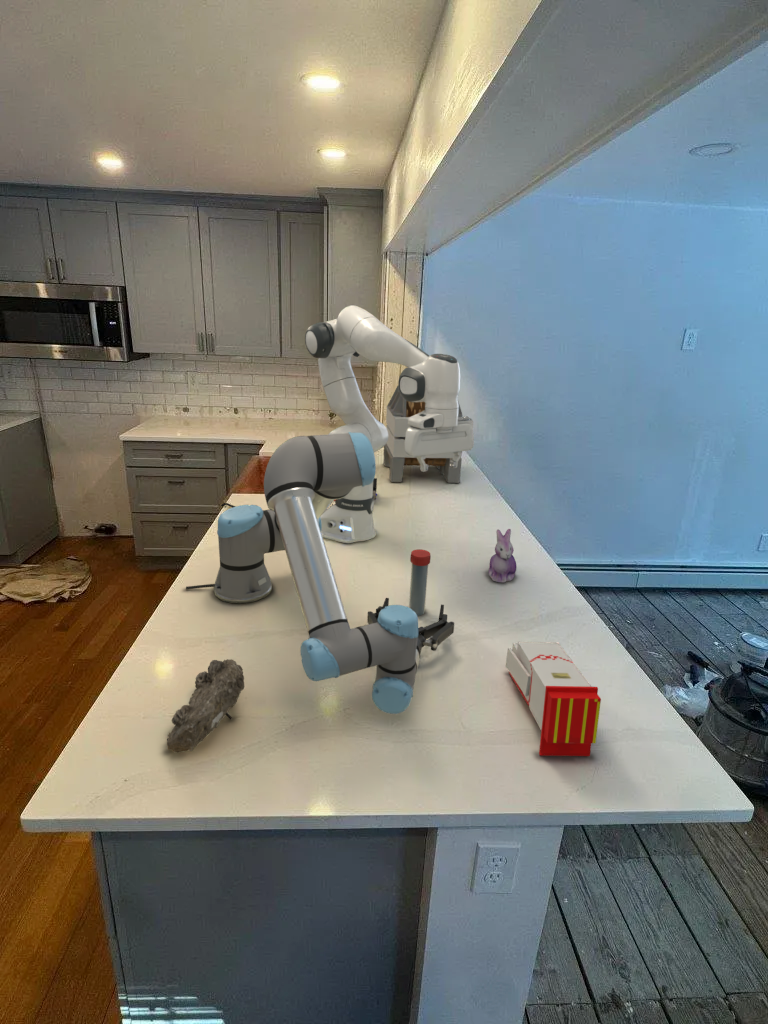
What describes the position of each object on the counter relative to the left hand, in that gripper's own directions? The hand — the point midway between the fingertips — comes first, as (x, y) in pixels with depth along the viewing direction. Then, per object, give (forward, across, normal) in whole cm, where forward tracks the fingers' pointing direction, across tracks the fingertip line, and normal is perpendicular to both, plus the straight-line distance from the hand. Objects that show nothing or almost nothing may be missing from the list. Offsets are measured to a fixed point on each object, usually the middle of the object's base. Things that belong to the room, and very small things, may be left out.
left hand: (414, 605), depth 139 cm
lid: (+8, 0, +10) cm, 13 cm away
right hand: (+26, +2, +28) cm, 38 cm away
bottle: (+8, 0, -6) cm, 11 cm away
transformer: (+142, -14, -6) cm, 143 cm away
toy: (-24, +29, -6) cm, 38 cm away
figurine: (+36, +23, -6) cm, 43 cm away
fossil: (-41, -33, -6) cm, 53 cm away
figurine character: (+96, -30, -6) cm, 100 cm away
